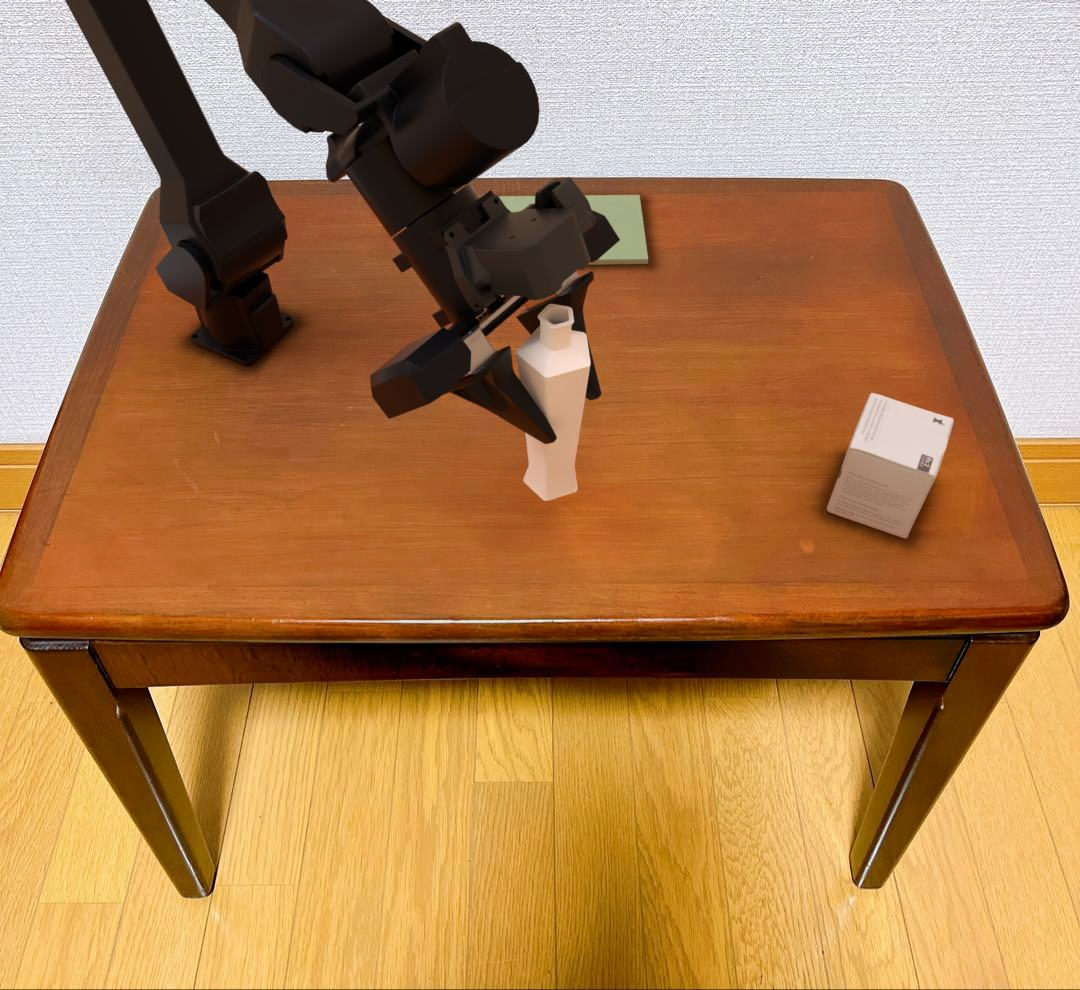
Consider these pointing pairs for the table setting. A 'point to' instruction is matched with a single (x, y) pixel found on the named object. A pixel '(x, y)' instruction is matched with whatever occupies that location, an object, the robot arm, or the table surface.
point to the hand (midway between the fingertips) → (574, 419)
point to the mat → (620, 215)
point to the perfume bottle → (555, 398)
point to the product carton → (890, 465)
